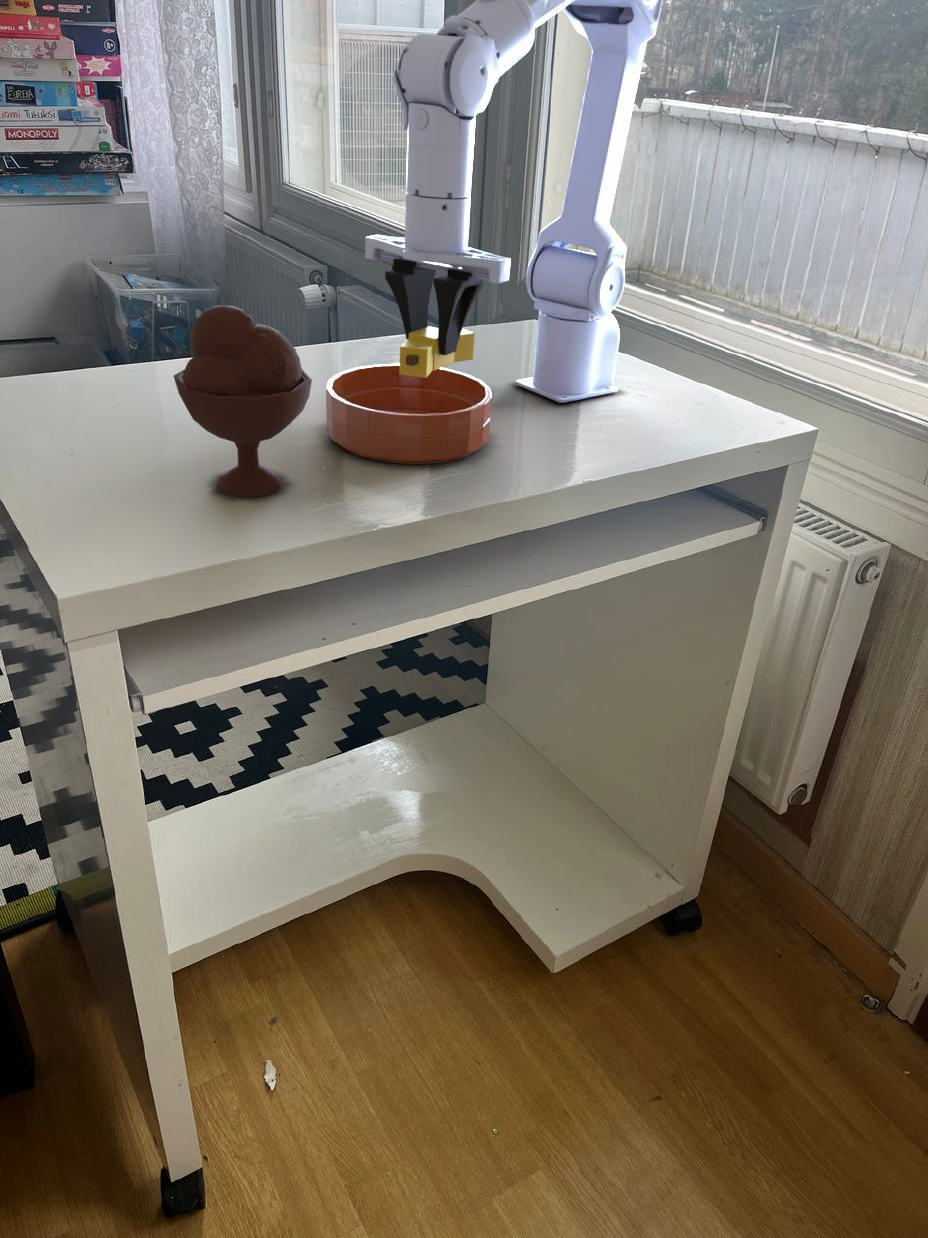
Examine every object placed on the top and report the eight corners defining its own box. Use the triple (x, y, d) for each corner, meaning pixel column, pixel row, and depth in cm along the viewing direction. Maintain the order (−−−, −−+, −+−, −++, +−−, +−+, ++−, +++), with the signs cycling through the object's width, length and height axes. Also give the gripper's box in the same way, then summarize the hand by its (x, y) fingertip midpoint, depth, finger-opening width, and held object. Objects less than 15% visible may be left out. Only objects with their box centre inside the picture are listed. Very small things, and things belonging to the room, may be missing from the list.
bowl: (425, 401, 105) (427, 356, 102) (520, 448, 94) (524, 399, 92) (297, 425, 96) (296, 376, 93) (386, 479, 85) (387, 426, 83)
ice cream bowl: (199, 517, 76) (182, 329, 69) (176, 466, 85) (159, 294, 77) (326, 503, 80) (324, 323, 73) (292, 455, 89) (287, 290, 81)
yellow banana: (446, 350, 96) (447, 320, 94) (477, 357, 94) (479, 326, 92) (385, 372, 88) (386, 340, 86) (418, 381, 86) (420, 347, 85)
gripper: (344, 187, 84) (345, 342, 91) (486, 209, 77) (474, 373, 84) (391, 181, 89) (388, 328, 96) (527, 202, 83) (513, 357, 90)
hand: (431, 348), depth 90 cm, fingers closed on yellow banana, 3 cm apart
